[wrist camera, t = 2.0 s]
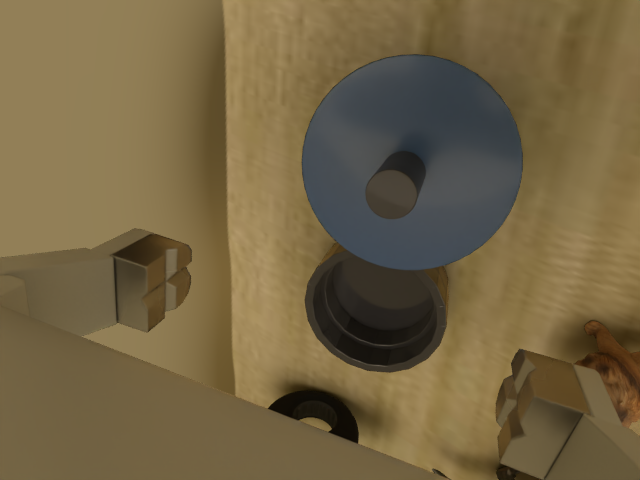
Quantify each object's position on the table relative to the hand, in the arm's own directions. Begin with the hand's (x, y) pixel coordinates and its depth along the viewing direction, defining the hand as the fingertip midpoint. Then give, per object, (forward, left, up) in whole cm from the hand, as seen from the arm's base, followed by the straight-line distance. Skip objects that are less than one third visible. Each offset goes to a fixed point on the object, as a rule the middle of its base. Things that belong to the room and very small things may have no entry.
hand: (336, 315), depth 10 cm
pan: (+13, 0, -25) cm, 28 cm away
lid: (0, 0, -16) cm, 16 cm away
